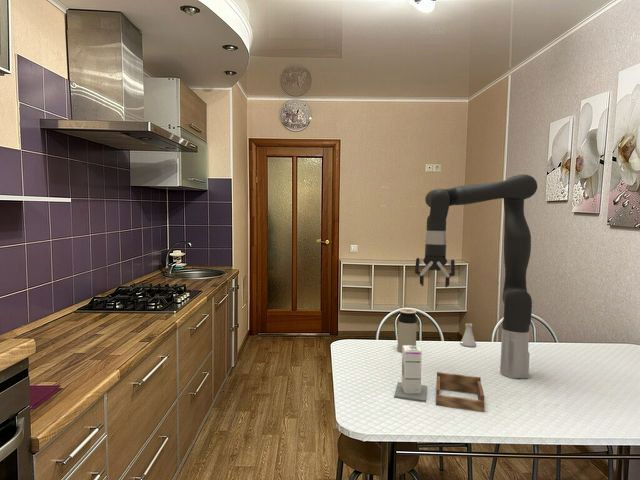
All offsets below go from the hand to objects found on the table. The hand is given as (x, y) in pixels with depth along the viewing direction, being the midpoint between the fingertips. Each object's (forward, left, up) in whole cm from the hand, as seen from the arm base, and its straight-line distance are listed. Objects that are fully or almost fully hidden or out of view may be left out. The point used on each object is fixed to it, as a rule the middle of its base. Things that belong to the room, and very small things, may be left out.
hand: (434, 286), depth 151 cm
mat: (+6, +20, -33) cm, 39 cm away
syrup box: (+6, +20, -33) cm, 39 cm away
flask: (-16, -44, -33) cm, 58 cm away
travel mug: (+11, -25, -33) cm, 43 cm away
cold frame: (-9, +20, -33) cm, 40 cm away
